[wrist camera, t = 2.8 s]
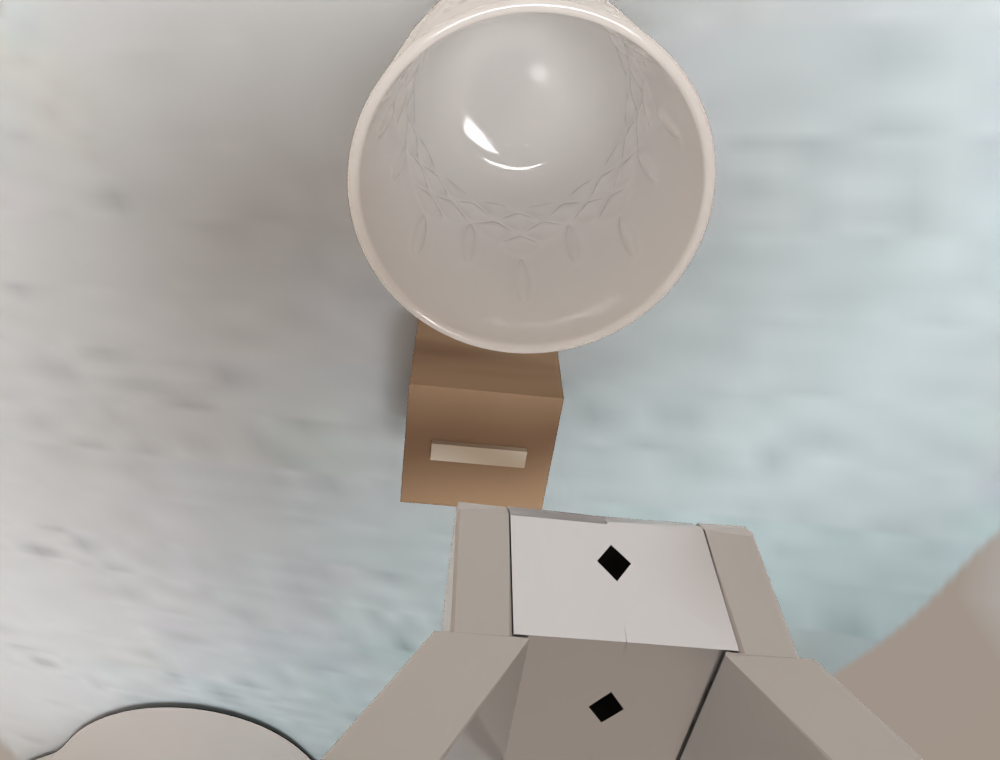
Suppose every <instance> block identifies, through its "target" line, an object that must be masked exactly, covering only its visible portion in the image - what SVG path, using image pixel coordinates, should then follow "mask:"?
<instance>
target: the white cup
mask: <svg viewBox="0 0 1000 760" xmlns="http://www.w3.org/2000/svg"><path fill="white" fill-rule="evenodd" d="M715 181H716V162H715V150H714V143H713V138H712V133H711V129H710V125H709V122H708V119H707V116H706V113H705V110H704V108H703V105H702V103H701V101H700V99H699V97H698V95H697V93H696V91H695V89H694V87H693V86H692V84H691V82H690V81H689V79H688V78H687V76H686V75H685V73H684V72H683V70H682V69H681V68H680V66H679V65H678V64H677V63H676V62H675V60H674V59H673V58H672V57H671V56H670V55H669V54H668V53H667V52H666V51H665V50H664V49H663V48H662V47H661V46H660V45H659V44H658V43H657V42H656V41H654V40H653V39H652V38H651V37H650V36H648V35H647V34H646V33H645V32H644V31H642V30H641V29H640V28H639V27H638V26H637V25H636V24H634V23H633V22H632V21H631V20H630V19H629V18H628V17H627V16H626V15H624V14H623V13H622V12H621V11H620V10H619V9H618V8H616V7H615V6H614V5H613V4H611V3H610V2H609V1H607V0H441V1H439V2H438V3H437V4H436V5H435V6H434V7H433V8H432V9H431V10H430V11H429V12H428V13H427V14H426V15H425V17H424V18H423V19H422V20H421V21H420V22H419V23H418V24H417V25H416V27H415V28H414V29H413V30H412V32H411V34H410V35H409V37H408V38H407V39H406V41H405V42H404V44H403V45H402V47H401V48H400V50H399V51H398V53H397V54H396V56H395V57H394V59H393V60H392V62H391V63H390V65H389V66H388V68H387V69H386V71H385V72H384V74H383V75H382V77H381V78H380V79H379V81H378V82H377V84H376V85H375V87H374V89H373V90H372V92H371V94H370V96H369V97H368V99H367V101H366V103H365V105H364V108H363V110H362V112H361V115H360V117H359V120H358V122H357V125H356V129H355V132H354V135H353V139H352V144H351V149H350V154H349V162H348V179H347V182H348V199H349V206H350V212H351V217H352V221H353V225H354V229H355V232H356V235H357V238H358V241H359V243H360V246H361V248H362V250H363V252H364V254H365V257H366V258H367V260H368V262H369V264H370V266H371V267H372V269H373V271H374V272H375V274H376V275H377V277H378V278H379V280H380V281H381V282H382V284H383V285H384V286H385V288H386V289H387V290H388V291H389V292H390V293H391V295H392V296H393V297H394V298H395V299H396V300H397V301H398V302H399V303H400V304H401V305H402V306H403V307H405V308H406V309H407V310H408V311H409V312H410V313H412V314H413V315H414V316H415V317H417V318H418V319H419V320H421V321H422V322H424V323H425V324H427V325H428V326H430V327H432V328H433V329H435V330H437V331H439V332H441V333H443V334H445V335H447V336H449V337H451V338H453V339H456V340H458V341H461V342H463V343H466V344H469V345H472V346H476V347H479V348H484V349H488V350H493V351H499V352H507V353H524V354H531V353H547V352H555V351H561V350H566V349H571V348H575V347H579V346H582V345H585V344H588V343H591V342H594V341H597V340H599V339H602V338H604V337H606V336H608V335H611V334H613V333H615V332H616V331H618V330H620V329H622V328H624V327H625V326H627V325H629V324H630V323H632V322H633V321H635V320H636V319H638V318H639V317H641V316H642V315H643V314H645V313H646V312H647V311H648V310H650V309H651V308H652V307H653V306H654V305H655V304H656V303H658V302H659V301H660V300H661V299H662V298H663V297H664V296H665V295H666V294H667V293H668V291H669V290H670V289H671V288H672V287H673V286H674V285H675V283H676V282H677V281H678V280H679V278H680V277H681V276H682V274H683V273H684V271H685V270H686V268H687V267H688V265H689V264H690V262H691V260H692V259H693V257H694V255H695V253H696V251H697V249H698V247H699V245H700V243H701V241H702V238H703V236H704V233H705V230H706V228H707V224H708V221H709V218H710V214H711V210H712V205H713V200H714V192H715Z"/></svg>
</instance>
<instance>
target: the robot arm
mask: <svg viewBox="0 0 1000 760" xmlns="http://www.w3.org/2000/svg"><path fill="white" fill-rule="evenodd" d="M35 760H311V759H309V758H308V757H307V756H306V755H305V754H304V753H303V752H302V751H301V750H300V749H298V748H297V747H296V746H295V745H293V744H292V743H290V742H289V741H288V740H286V739H284V738H283V737H281V736H280V735H278V734H276V733H274V732H272V731H270V730H268V729H266V728H264V727H262V726H259V725H257V724H254V723H252V722H249V721H246V720H243V719H240V718H237V717H233V716H229V715H225V714H221V713H216V712H211V711H205V710H198V709H189V708H172V707H161V708H146V709H137V710H131V711H125V712H121V713H117V714H113V715H110V716H107V717H104V718H102V719H99V720H97V721H95V722H93V723H91V724H89V725H87V726H85V727H84V728H82V729H81V730H80V731H78V732H77V733H76V734H75V735H73V736H72V738H71V739H70V740H69V741H68V742H67V743H66V744H65V745H64V746H63V747H62V748H61V749H60V750H58V751H57V752H55V753H53V754H50V755H47V756H44V757H41V758H38V759H35ZM321 760H924V759H923V758H922V757H921V756H920V755H919V754H917V753H916V752H915V751H914V750H913V749H912V748H911V747H910V746H908V745H907V744H906V743H905V742H904V741H903V740H902V739H901V738H900V737H899V736H898V735H897V734H895V733H894V732H893V731H892V730H891V729H890V728H889V727H888V726H887V725H885V724H884V723H883V722H882V721H881V720H880V719H879V718H878V717H877V716H876V715H875V714H873V713H872V712H871V711H870V710H869V709H868V708H867V707H866V706H865V705H863V703H861V702H860V701H859V700H858V699H857V698H856V697H855V696H854V695H853V694H851V693H850V692H849V691H848V690H847V689H846V688H845V687H844V686H843V685H842V684H841V683H839V682H838V681H837V680H836V679H835V678H834V677H833V676H832V675H831V674H830V673H829V672H827V671H826V670H825V669H824V668H823V667H822V666H821V665H820V664H819V663H818V662H816V661H815V660H814V659H805V658H799V657H798V654H797V651H796V649H795V646H794V643H793V641H792V638H791V635H790V633H789V630H788V627H787V625H786V622H785V619H784V617H783V614H782V611H781V608H780V606H779V603H778V600H777V598H776V595H775V592H774V590H773V587H772V584H771V582H770V579H769V576H768V574H767V571H766V568H765V566H764V563H763V560H762V558H761V555H760V552H759V550H758V547H757V544H756V542H755V539H754V536H753V534H752V533H751V532H750V531H749V530H748V529H747V528H746V527H743V526H729V525H715V524H701V523H698V524H696V525H695V524H692V523H680V522H668V521H655V520H642V519H629V518H617V517H604V516H592V515H583V514H574V513H565V512H556V511H547V510H538V509H529V508H520V507H511V506H508V508H507V509H506V507H501V506H492V505H483V504H474V503H466V502H458V504H457V508H456V513H455V520H454V528H453V536H452V544H451V551H450V559H449V567H448V574H447V583H446V592H445V601H444V610H443V619H442V629H441V631H434V632H433V633H432V634H431V635H430V637H429V638H428V639H427V640H426V641H425V642H424V643H423V645H422V646H421V647H420V648H419V649H418V650H417V651H416V652H415V654H414V655H413V656H412V657H411V658H410V659H409V660H408V662H407V663H406V664H405V665H404V666H403V667H402V668H401V669H400V671H399V672H398V673H397V674H396V675H395V676H394V677H393V679H392V680H391V681H390V682H389V683H388V684H387V685H386V686H385V688H384V689H383V690H382V691H381V692H380V693H379V694H378V696H377V697H376V698H375V699H374V700H373V701H372V702H371V703H370V705H369V706H368V707H367V708H366V709H365V710H364V711H363V712H362V714H361V715H360V716H359V717H358V718H357V719H356V720H355V722H354V723H353V724H352V725H351V726H350V727H349V728H348V729H347V731H346V732H345V733H344V734H343V735H342V736H341V737H340V739H339V740H338V741H337V742H336V743H335V744H334V745H333V746H332V748H331V749H330V750H329V751H328V752H327V753H326V754H325V756H324V757H323V758H322V759H321Z"/></svg>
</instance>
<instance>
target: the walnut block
mask: <svg viewBox="0 0 1000 760" xmlns="http://www.w3.org/2000/svg"><path fill="white" fill-rule="evenodd" d="M563 400H564V396H563V389H562V382H561V374H560V367H559V359H558V352H557V351H555V352H547V353H531V354H524V353H507V352H499V351H493V350H488V349H484V348H479V347H476V346H472V345H469V344H466V343H463V342H461V341H458V340H456V339H453V338H451V337H449V336H447V335H445V334H443V333H441V332H439V331H437V330H435V329H433V328H432V327H430V326H428V325H427V324H425V323H424V322H422V321H421V320H419V319H418V326H417V333H416V340H415V347H414V354H413V361H412V368H411V375H410V382H409V393H408V406H407V420H406V433H405V446H404V459H403V473H402V486H401V499H400V502H410V503H422V504H434V505H446V506H457V504H458V502H466V503H474V504H483V505H492V506H501V507H506V509H507V508H508V506H511V507H520V508H529V509H538V510H542V505H543V500H544V495H545V490H546V485H547V480H548V475H549V470H550V465H551V460H552V455H553V450H554V445H555V440H556V435H557V430H558V425H559V420H560V415H561V410H562V405H563Z"/></svg>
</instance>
